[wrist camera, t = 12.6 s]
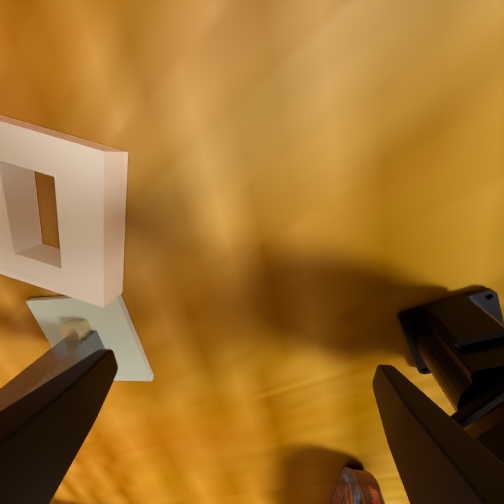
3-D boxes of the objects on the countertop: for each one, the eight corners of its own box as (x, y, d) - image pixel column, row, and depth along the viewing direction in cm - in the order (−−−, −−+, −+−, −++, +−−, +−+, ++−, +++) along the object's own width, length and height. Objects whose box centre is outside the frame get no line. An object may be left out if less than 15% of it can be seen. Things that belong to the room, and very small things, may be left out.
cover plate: (128, 152, 18) (103, 151, 16) (122, 292, 23) (103, 307, 21) (-16, 110, 18) (-59, 103, 16) (10, 256, 24) (-20, 267, 21)
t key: (91, 318, 24) (-32, 417, 15) (112, 363, 26) (15, 474, 17) (67, 319, 25) (-66, 414, 16) (89, 363, 27) (-17, 470, 18)
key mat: (120, 292, 23) (115, 295, 23) (154, 376, 27) (151, 381, 26) (31, 298, 25) (25, 301, 25) (74, 375, 29) (70, 379, 29)
